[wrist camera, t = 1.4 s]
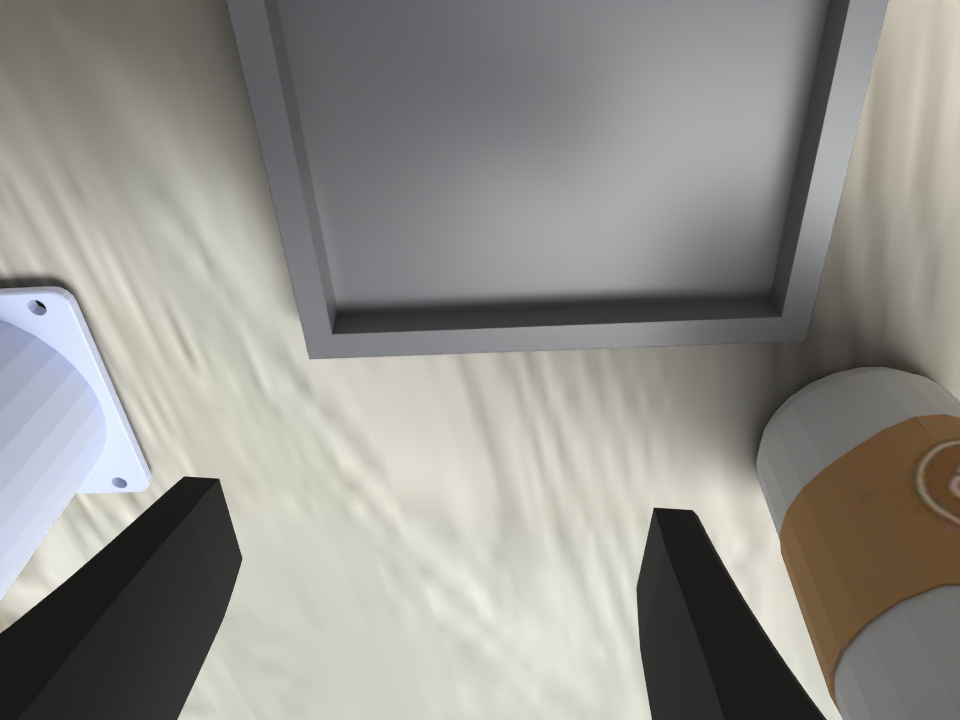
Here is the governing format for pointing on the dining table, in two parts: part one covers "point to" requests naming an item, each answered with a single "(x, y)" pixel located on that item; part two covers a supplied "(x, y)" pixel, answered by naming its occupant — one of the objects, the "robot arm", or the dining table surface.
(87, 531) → the dining table surface
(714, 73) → the tray
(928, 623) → the coffee cup
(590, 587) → the dining table surface
